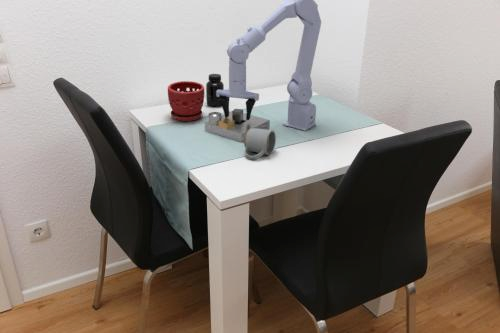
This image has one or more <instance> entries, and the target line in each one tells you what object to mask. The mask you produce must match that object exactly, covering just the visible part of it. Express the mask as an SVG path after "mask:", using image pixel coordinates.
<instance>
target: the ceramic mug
mask: <svg viewBox="0 0 500 333" xmlns="http://www.w3.org/2000/svg"><path fill="white" fill-rule="evenodd" d="M276 138H277V136H276V133H275V131H274V130H273V129H267V130H265V129H256V128H254V129H249V130H248V131H247V132H246V135H245V138H244V141H243V144H244V155H245V157H246V158H247V159H248V160H252V161H254V160H258V159H260V158H261V157H262V156H264V155H266V156H271V155H272V153H273V152H274V150H275V148H276V147H275V146H276V141H277V140H276ZM248 151H250V152H253V153H257V154H255V155H250V154H248Z"/></svg>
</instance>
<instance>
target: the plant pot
mask: <svg viewBox="0 0 500 333" xmlns="http://www.w3.org/2000/svg"><path fill="white" fill-rule="evenodd" d="M188 89H189V90H188ZM167 98H168V104H169V106H170V108H171V111H170V115H171V117H172V118H173V119H175V120H178V121H180V122H181V121H182V122H192V121H195V120H198V119H199V118H201V117H202V115H203V110H202V109H203V106H204V102H205V86H204V84H202V83H200V82H196V81H189V80H186V81H185V80H184V81H175V82H172V83H170V84H169V85H168V86H167Z"/></svg>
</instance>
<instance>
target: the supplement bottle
mask: <svg viewBox="0 0 500 333" xmlns="http://www.w3.org/2000/svg"><path fill="white" fill-rule="evenodd" d="M205 90H206V96H205V97H206V98H205V99H206V100H205V101H206V106H208V107H210V108H221V107H222V106H221V104H220V102H219V100H218V99H219V97H217V96H216V91H217V90H225V89H224V83H223V81H222V75H221V74H219V73H210V74H208V81H207V82H206V84H205Z"/></svg>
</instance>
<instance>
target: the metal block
mask: <svg viewBox="0 0 500 333" xmlns="http://www.w3.org/2000/svg"><path fill="white" fill-rule="evenodd" d="M231 111H232V120H235V124H238V125H239V124H242V123H243V113H244V108H243V109H242V108H241V109H240V108H234V109H233V110H231Z"/></svg>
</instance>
